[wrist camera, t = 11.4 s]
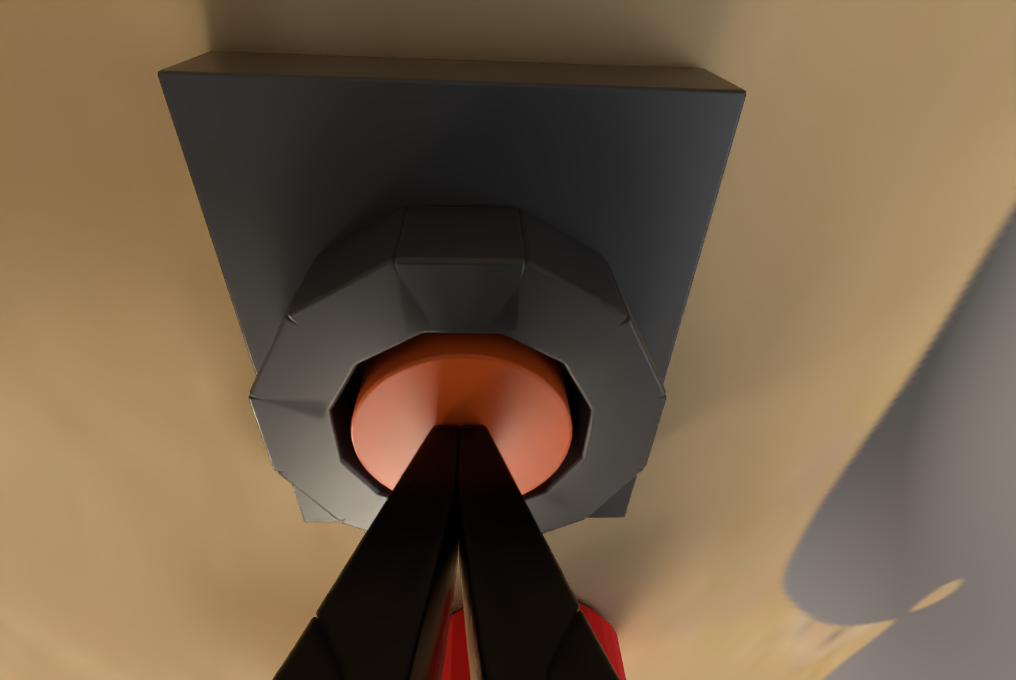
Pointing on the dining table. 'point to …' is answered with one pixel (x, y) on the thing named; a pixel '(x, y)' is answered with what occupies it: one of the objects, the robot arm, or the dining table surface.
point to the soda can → (457, 651)
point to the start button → (463, 403)
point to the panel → (453, 239)
